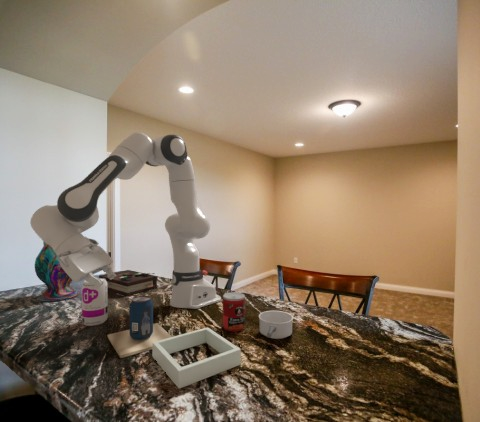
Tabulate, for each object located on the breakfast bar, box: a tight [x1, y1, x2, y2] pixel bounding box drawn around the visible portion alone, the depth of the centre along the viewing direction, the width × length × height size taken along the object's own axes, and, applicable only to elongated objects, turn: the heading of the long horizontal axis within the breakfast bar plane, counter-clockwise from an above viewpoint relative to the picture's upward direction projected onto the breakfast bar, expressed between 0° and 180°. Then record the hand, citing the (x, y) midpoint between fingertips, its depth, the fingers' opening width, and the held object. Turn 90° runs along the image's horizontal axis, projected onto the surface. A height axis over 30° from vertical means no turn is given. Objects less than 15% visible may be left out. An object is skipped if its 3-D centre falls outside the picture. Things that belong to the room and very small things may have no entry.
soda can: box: [129, 295, 154, 341], centre depth 90 cm, size 7×7×12 cm
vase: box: [34, 240, 80, 302], centre depth 133 cm, size 18×18×30 cm
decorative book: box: [98, 269, 158, 297], centre depth 148 cm, size 19×8×30 cm
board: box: [107, 322, 173, 359], centre depth 89 cm, size 16×16×1 cm
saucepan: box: [257, 310, 294, 340], centre depth 90 cm, size 12×20×6 cm, turn 165°
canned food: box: [222, 291, 246, 332], centre depth 99 cm, size 8×8×11 cm
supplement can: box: [81, 277, 108, 327], centre depth 103 cm, size 8×8×15 cm
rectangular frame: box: [151, 326, 242, 390], centre depth 77 cm, size 17×17×4 cm
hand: (107, 281), depth 89 cm, fingers open, 8 cm apart
